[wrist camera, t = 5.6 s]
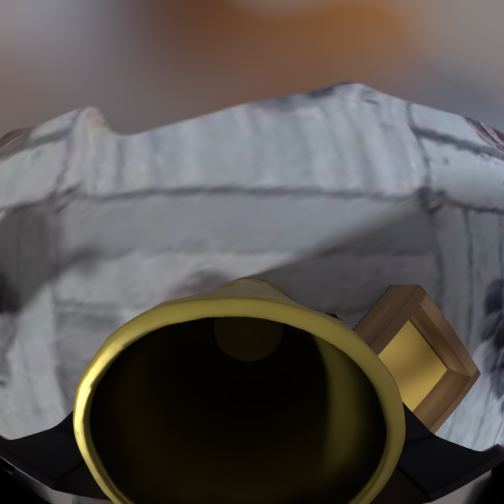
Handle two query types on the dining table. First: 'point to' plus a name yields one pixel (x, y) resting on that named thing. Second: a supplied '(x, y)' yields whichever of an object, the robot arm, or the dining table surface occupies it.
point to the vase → (238, 405)
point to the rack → (419, 352)
